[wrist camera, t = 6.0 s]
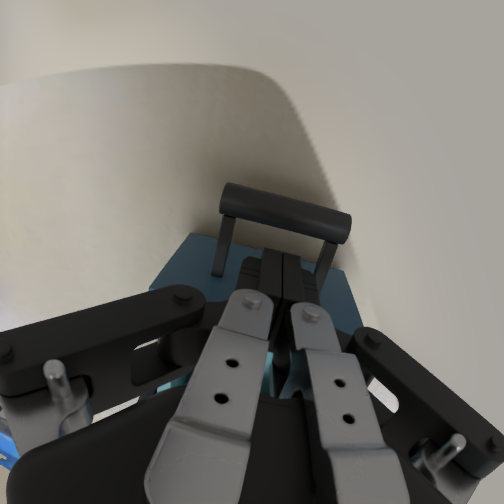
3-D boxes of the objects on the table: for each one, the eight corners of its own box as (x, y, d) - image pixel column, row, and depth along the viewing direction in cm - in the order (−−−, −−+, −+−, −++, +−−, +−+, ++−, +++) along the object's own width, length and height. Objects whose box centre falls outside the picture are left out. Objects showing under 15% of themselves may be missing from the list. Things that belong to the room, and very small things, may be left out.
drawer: (203, 160, 18) (160, 183, 12) (368, 203, 18) (411, 249, 12) (171, 373, 26) (146, 438, 19) (286, 400, 26) (284, 469, 19)
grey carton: (39, 399, 33) (0, 458, 22) (50, 416, 35) (16, 474, 24) (4, 386, 34) (-33, 437, 23) (16, 403, 36) (-18, 452, 25)
